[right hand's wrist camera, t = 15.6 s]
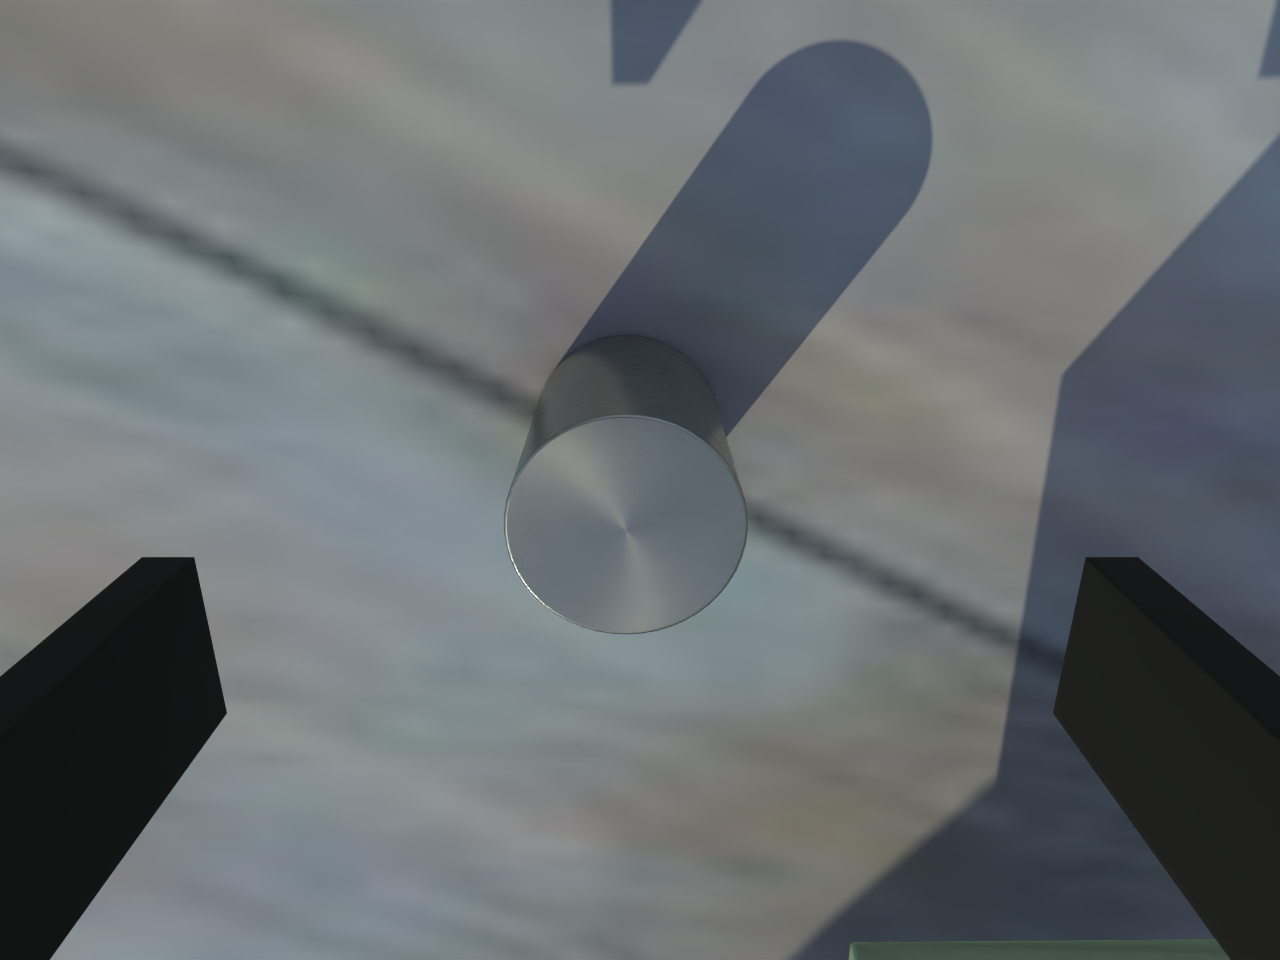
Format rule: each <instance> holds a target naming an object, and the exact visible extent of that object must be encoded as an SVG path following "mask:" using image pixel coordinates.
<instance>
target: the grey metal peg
mask: <svg viewBox="0 0 1280 960" xmlns="http://www.w3.org/2000/svg"><path fill="white" fill-rule="evenodd" d="M747 530H748V523H747V510H746V504H745V499H744V495H743V492H742V489H741V486H740V482H739V479H738V476H737V472H736V469H735V466H734V462H733V459H732V456H731V452H730V449H729V446H728V443H727V439H726V436H725V433H724V429H723V426H722V423H721V419H720V416H719V413H718V410H717V406H716V403H715V400H714V397H713V393H712V391H711V388H710V386H709V384H708V382H707V380H706V379H705V377H704V376H703V374H702V373H701V371H700V370H699V369H698V368H697V367H696V365H695V364H694V363H693V362H692V361H691V360H690V359H688V358H687V357H686V356H685V355H684V354H682V353H681V352H679V351H678V350H676V349H675V348H673V347H671V346H669V345H667V344H665V343H663V342H660V341H657V340H654V339H651V338H646V337H641V336H629V335H625V336H613V337H608V338H603V339H600V340H597V341H594V342H591V343H589V344H587V345H585V346H583V347H581V348H579V349H578V350H576V351H575V352H573V353H572V354H570V355H569V356H568V357H567V358H566V359H564V360H563V361H562V362H561V363H560V364H559V365H558V367H557V368H556V369H555V370H554V371H553V373H552V374H551V376H550V377H549V379H548V380H547V382H546V384H545V387H544V389H543V391H542V394H541V397H540V400H539V403H538V406H537V409H536V412H535V415H534V418H533V421H532V424H531V427H530V430H529V433H528V436H527V439H526V442H525V445H524V448H523V451H522V454H521V457H520V460H519V464H518V467H517V470H516V473H515V476H514V479H513V482H512V485H511V488H510V491H509V494H508V498H507V501H506V507H505V514H504V533H505V540H506V546H507V549H508V553H509V556H510V559H511V561H512V563H513V566H514V568H515V570H516V572H517V574H518V575H519V577H520V579H521V580H522V582H523V583H524V585H525V586H526V587H527V588H528V590H529V591H530V592H531V593H532V594H533V596H535V597H536V598H537V599H538V600H539V601H540V602H541V603H542V604H543V605H544V606H545V607H547V608H548V609H550V610H551V611H552V612H554V613H555V614H557V615H558V616H560V617H562V618H564V619H566V620H567V621H569V622H572V623H574V624H577V625H579V626H581V627H584V628H588V629H592V630H595V631H600V632H606V633H612V634H639V633H646V632H652V631H657V630H661V629H664V628H667V627H671V626H673V625H675V624H678V623H680V622H682V621H685V620H686V619H688V618H690V617H692V616H693V615H695V614H697V613H698V612H700V611H701V610H702V609H704V608H705V607H706V606H708V605H709V604H710V603H711V602H712V601H713V600H714V599H715V598H716V597H717V596H718V595H719V594H720V593H721V592H722V591H723V589H724V588H725V587H726V586H727V584H728V583H729V582H730V580H731V578H732V577H733V575H734V573H735V572H736V570H737V568H738V565H739V563H740V561H741V558H742V555H743V552H744V548H745V544H746V538H747Z"/></svg>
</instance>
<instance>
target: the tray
mask: <svg viewBox="0 0 1280 960" xmlns="http://www.w3.org/2000/svg"><path fill="white" fill-rule="evenodd" d="M849 960H1230V959H1229V957H1228V956H1227V954H1226V953H1225V952H1224V950H1223V949H1222V947H1221V946H1220V945H1219V943H1218V942H1217V940H1216V939H1123V940H1017V941H912V942H852V943H851V945H850V953H849Z"/></svg>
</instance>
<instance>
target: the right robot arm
mask: <svg viewBox="0 0 1280 960" xmlns="http://www.w3.org/2000/svg"><path fill="white" fill-rule="evenodd" d="M226 714H227V711H226V707H225V702H224V697H223V692H222V688H221V683H220V678H219V673H218V669H217V664H216V659H215V654H214V650H213V645H212V640H211V635H210V631H209V626H208V621H207V616H206V611H205V607H204V602H203V597H202V592H201V588H200V583H199V578H198V573H197V569H196V564H195V559H194V557H142V558H141V559H140V560H138V561H137V562H136V563H135V564H134V565H132V566H131V567H130V568H129V569H128V570H126V571H125V572H124V573H123V574H122V575H121V576H119V577H118V578H117V579H116V580H115V581H113V582H112V583H111V584H110V585H109V586H107V587H106V588H105V589H104V590H103V591H101V592H100V593H99V594H98V595H97V596H96V597H94V598H93V599H92V600H91V601H90V602H88V603H87V604H86V605H85V606H84V607H82V608H81V609H80V610H79V611H78V612H77V613H75V614H74V615H73V616H72V617H71V618H69V619H68V620H67V621H66V622H65V623H63V624H62V625H61V626H60V627H59V628H58V629H56V630H55V631H54V632H53V633H52V634H50V635H49V636H48V637H47V638H46V639H44V640H43V641H42V642H41V643H40V644H39V645H37V646H36V647H35V648H34V649H33V650H31V651H30V652H29V653H28V654H27V655H25V656H24V657H23V658H22V659H21V660H20V661H18V662H17V663H16V664H15V665H14V666H12V667H11V668H10V669H9V670H8V671H6V672H5V673H4V674H3V675H2V676H1V677H0V960H50V959H51V957H52V956H53V954H54V953H55V952H56V950H57V949H58V947H59V946H60V945H61V943H62V942H63V940H64V939H65V938H66V936H67V935H68V934H69V932H70V931H71V929H72V928H73V927H74V925H75V924H76V922H77V921H78V920H79V918H80V917H81V915H82V914H83V913H84V911H85V910H86V908H87V907H88V906H89V904H90V903H91V901H92V900H93V899H94V897H95V896H96V895H97V893H98V892H99V890H100V889H101V888H102V886H103V885H104V883H105V882H106V881H107V879H108V878H109V876H110V875H111V874H112V872H113V871H114V869H115V868H116V867H117V865H118V864H119V863H120V861H121V860H122V858H123V857H124V856H125V854H126V853H127V851H128V850H129V849H130V847H131V846H132V844H133V843H134V842H135V840H136V839H137V837H138V836H139V835H140V833H141V832H142V831H143V829H144V828H145V826H146V825H147V824H148V822H149V821H150V819H151V818H152V817H153V815H154V814H155V812H156V811H157V810H158V808H159V807H160V805H161V804H162V803H163V801H164V800H165V799H166V797H167V796H168V794H169V793H170V792H171V790H172V789H173V787H174V786H175V785H176V783H177V782H178V780H179V779H180V778H181V776H182V775H183V773H184V772H185V771H186V769H187V768H188V767H189V765H190V764H191V762H192V761H193V760H194V758H195V757H196V755H197V754H198V753H199V751H200V750H201V748H202V747H203V746H204V744H205V743H206V741H207V740H208V739H209V737H210V736H211V735H212V733H213V732H214V730H215V729H216V728H217V726H218V725H219V723H220V722H221V721H222V719H223V718H224V716H225V715H226ZM1053 714H1054V715H1055V716H1056V718H1057V719H1058V721H1059V722H1060V723H1061V725H1062V726H1063V728H1064V729H1065V730H1066V732H1067V733H1068V735H1069V736H1070V737H1071V739H1072V740H1073V741H1074V743H1075V744H1076V746H1077V747H1078V748H1079V750H1080V751H1081V753H1082V754H1083V755H1084V757H1085V758H1086V760H1087V761H1088V762H1089V764H1090V765H1091V767H1092V768H1093V769H1094V771H1095V772H1096V773H1097V775H1098V776H1099V778H1100V779H1101V780H1102V782H1103V783H1104V785H1105V786H1106V787H1107V789H1108V790H1109V792H1110V793H1111V794H1112V796H1113V797H1114V799H1115V800H1116V801H1117V803H1118V804H1119V805H1120V807H1121V808H1122V810H1123V811H1124V812H1125V814H1126V815H1127V817H1128V818H1129V819H1130V821H1131V822H1132V824H1133V825H1134V826H1135V828H1136V829H1137V831H1138V832H1139V833H1140V835H1141V836H1142V837H1143V839H1144V840H1145V842H1146V843H1147V844H1148V846H1149V847H1150V849H1151V850H1152V851H1153V853H1154V854H1155V856H1156V857H1157V858H1158V860H1159V861H1160V863H1161V864H1162V865H1163V867H1164V868H1165V869H1166V871H1167V872H1168V874H1169V875H1170V876H1171V878H1172V879H1173V881H1174V882H1175V883H1176V885H1177V886H1178V888H1179V889H1180V890H1181V892H1182V893H1183V895H1184V896H1185V897H1186V899H1187V900H1188V901H1189V903H1190V904H1191V906H1192V907H1193V908H1194V910H1195V911H1196V913H1197V914H1198V915H1199V917H1200V918H1201V920H1202V921H1203V922H1204V924H1205V925H1206V927H1207V928H1208V929H1209V931H1210V932H1211V934H1212V935H1213V936H1214V938H1215V939H1216V940H1217V942H1218V943H1219V945H1220V946H1221V947H1222V949H1223V950H1224V952H1225V953H1226V954H1227V956H1228V957H1229V959H1230V960H1280V677H1279V676H1278V675H1277V674H1276V673H1275V672H1274V671H1272V670H1271V669H1270V668H1269V667H1268V666H1266V665H1265V664H1264V663H1263V662H1262V661H1260V660H1259V659H1258V658H1257V657H1256V656H1255V655H1253V654H1252V653H1251V652H1250V651H1249V650H1247V649H1246V648H1245V647H1244V646H1243V645H1241V644H1240V643H1239V642H1238V641H1237V640H1236V639H1234V638H1233V637H1232V636H1231V635H1230V634H1228V633H1227V632H1226V631H1225V630H1224V629H1222V628H1221V627H1220V626H1219V625H1218V624H1217V623H1215V622H1214V621H1213V620H1212V619H1211V618H1209V617H1208V616H1207V615H1206V614H1205V613H1203V612H1202V611H1201V610H1200V609H1199V608H1198V607H1196V606H1195V605H1194V604H1193V603H1192V602H1190V601H1189V600H1188V599H1187V598H1186V597H1184V596H1183V595H1182V594H1181V593H1180V592H1179V591H1177V590H1176V589H1175V588H1174V587H1173V586H1171V585H1170V584H1169V583H1168V582H1167V581H1165V580H1164V579H1163V578H1162V577H1161V576H1159V575H1158V574H1157V573H1156V572H1155V571H1154V570H1152V569H1151V568H1150V567H1149V566H1148V565H1146V564H1145V563H1144V562H1143V561H1142V560H1140V559H1139V558H1138V557H1086V559H1085V564H1084V569H1083V573H1082V578H1081V583H1080V588H1079V592H1078V597H1077V602H1076V607H1075V611H1074V616H1073V621H1072V626H1071V631H1070V635H1069V640H1068V645H1067V650H1066V654H1065V659H1064V664H1063V669H1062V673H1061V678H1060V683H1059V688H1058V692H1057V697H1056V702H1055V707H1054V711H1053Z"/></svg>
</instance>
